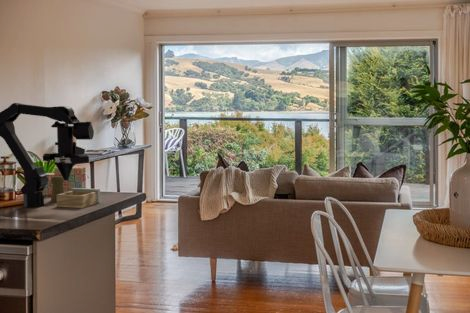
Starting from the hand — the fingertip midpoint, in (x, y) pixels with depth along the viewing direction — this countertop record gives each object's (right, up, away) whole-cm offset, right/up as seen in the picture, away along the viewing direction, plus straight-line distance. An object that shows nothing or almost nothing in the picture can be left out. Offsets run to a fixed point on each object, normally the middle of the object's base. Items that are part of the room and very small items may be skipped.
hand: (66, 180), depth 216 cm
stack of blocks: (-14, -8, +39) cm, 42 cm away
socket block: (+3, -10, +5) cm, 11 cm away
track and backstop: (+2, -11, +3) cm, 11 cm away
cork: (-8, -10, +16) cm, 20 cm away
